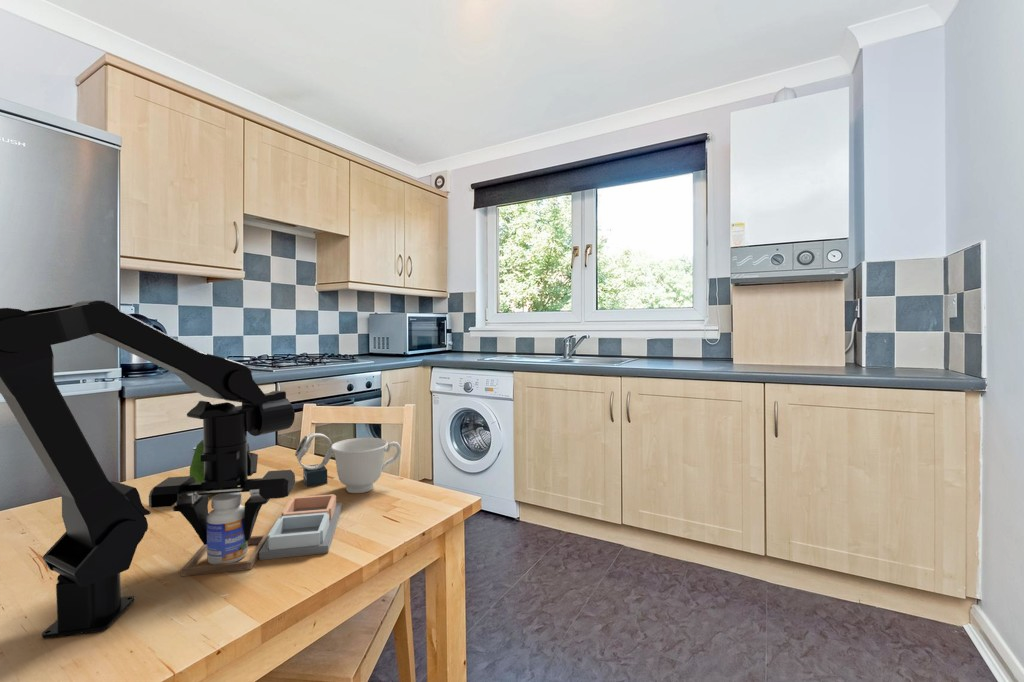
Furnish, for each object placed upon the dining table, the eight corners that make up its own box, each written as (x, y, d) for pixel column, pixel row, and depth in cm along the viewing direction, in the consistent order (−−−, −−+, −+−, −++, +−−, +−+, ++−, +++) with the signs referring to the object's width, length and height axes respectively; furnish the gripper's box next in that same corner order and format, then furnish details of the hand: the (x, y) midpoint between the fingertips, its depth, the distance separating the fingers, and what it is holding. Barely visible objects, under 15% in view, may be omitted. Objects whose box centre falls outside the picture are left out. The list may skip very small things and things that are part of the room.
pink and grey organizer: (328, 552, 74) (327, 533, 74) (259, 559, 72) (259, 539, 72) (341, 508, 92) (341, 492, 92) (286, 513, 89) (286, 497, 89)
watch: (294, 481, 108) (293, 434, 107) (330, 475, 112) (330, 429, 111) (297, 488, 103) (296, 439, 102) (335, 482, 107) (335, 434, 107)
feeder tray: (251, 568, 69) (251, 562, 69) (181, 576, 67) (180, 569, 67) (268, 540, 78) (268, 534, 78) (206, 546, 76) (206, 540, 76)
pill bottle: (229, 568, 70) (227, 504, 69) (198, 564, 71) (197, 501, 70) (255, 550, 75) (254, 491, 74) (227, 547, 76) (225, 488, 76)
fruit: (196, 489, 102) (194, 435, 102) (237, 485, 105) (236, 432, 104) (185, 502, 95) (183, 444, 94) (229, 497, 98) (228, 440, 97)
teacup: (405, 492, 101) (404, 447, 100) (331, 502, 95) (330, 454, 95) (397, 475, 112) (397, 434, 111) (330, 483, 106) (330, 440, 106)
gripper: (301, 428, 82) (302, 515, 83) (181, 433, 78) (183, 525, 78) (286, 444, 71) (287, 544, 72) (145, 451, 67) (148, 558, 67)
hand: (227, 541), depth 73 cm, fingers closed on pill bottle, 5 cm apart
